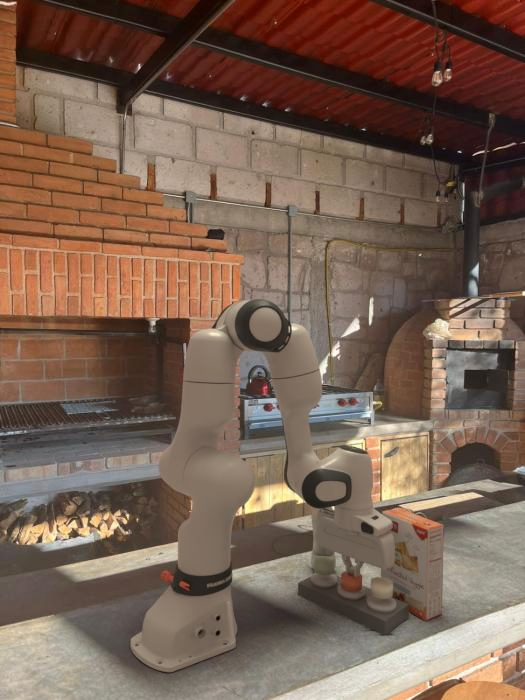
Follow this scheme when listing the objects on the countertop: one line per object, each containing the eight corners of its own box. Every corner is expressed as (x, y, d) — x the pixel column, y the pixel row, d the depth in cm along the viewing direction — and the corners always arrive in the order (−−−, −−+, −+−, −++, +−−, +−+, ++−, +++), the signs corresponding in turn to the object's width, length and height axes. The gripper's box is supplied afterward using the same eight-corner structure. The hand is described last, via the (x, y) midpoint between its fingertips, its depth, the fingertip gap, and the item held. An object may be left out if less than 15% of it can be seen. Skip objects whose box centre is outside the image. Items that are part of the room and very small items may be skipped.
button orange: (354, 593, 121) (354, 582, 120) (337, 586, 124) (337, 575, 124) (366, 586, 124) (366, 575, 124) (349, 579, 127) (349, 569, 127)
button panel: (384, 635, 112) (385, 616, 112) (297, 595, 129) (298, 578, 129) (408, 617, 119) (409, 599, 119) (323, 581, 136) (323, 566, 136)
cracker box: (378, 596, 129) (380, 510, 128) (396, 589, 132) (398, 506, 132) (424, 622, 117) (426, 528, 117) (443, 615, 120) (445, 523, 120)
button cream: (385, 601, 115) (385, 589, 115) (366, 593, 118) (366, 582, 118) (396, 593, 118) (397, 582, 118) (378, 586, 122) (378, 575, 122)
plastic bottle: (337, 576, 139) (338, 500, 138) (311, 575, 139) (312, 499, 139) (334, 565, 146) (335, 492, 145) (309, 565, 146) (310, 492, 145)
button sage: (326, 577, 126) (326, 566, 126) (310, 570, 129) (310, 560, 129) (338, 570, 130) (338, 560, 129) (322, 564, 133) (322, 554, 133)
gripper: (309, 508, 128) (309, 565, 129) (384, 531, 114) (383, 594, 115) (325, 502, 133) (325, 557, 134) (399, 523, 119) (398, 584, 119)
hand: (352, 575), depth 124 cm, fingers closed, pressing on button orange
